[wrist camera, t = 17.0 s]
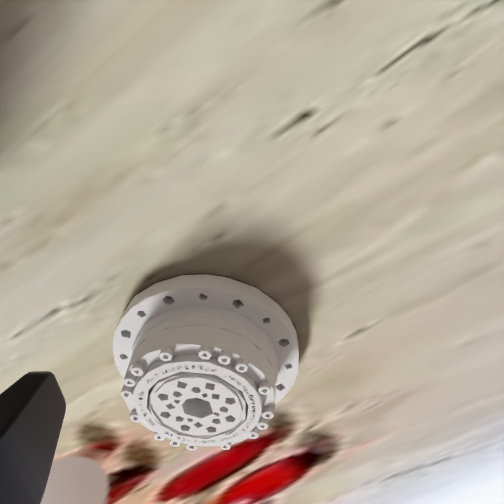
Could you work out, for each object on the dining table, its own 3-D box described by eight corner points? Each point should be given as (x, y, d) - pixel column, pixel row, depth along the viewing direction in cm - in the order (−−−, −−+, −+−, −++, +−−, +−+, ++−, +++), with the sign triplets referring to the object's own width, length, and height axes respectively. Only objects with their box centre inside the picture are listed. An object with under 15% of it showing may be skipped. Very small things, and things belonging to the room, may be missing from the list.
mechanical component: (331, 312, 25) (150, 241, 23) (340, 377, 21) (124, 299, 19) (254, 419, 30) (101, 369, 28) (250, 487, 26) (73, 434, 24)
